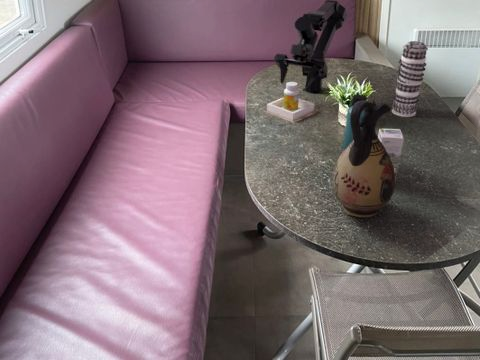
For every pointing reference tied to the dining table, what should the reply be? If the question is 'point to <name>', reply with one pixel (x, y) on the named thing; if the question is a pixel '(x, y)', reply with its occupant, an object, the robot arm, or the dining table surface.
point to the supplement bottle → (291, 97)
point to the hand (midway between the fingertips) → (293, 85)
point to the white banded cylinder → (409, 79)
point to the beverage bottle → (348, 130)
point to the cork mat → (297, 119)
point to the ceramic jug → (364, 165)
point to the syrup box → (392, 145)
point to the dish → (302, 111)
